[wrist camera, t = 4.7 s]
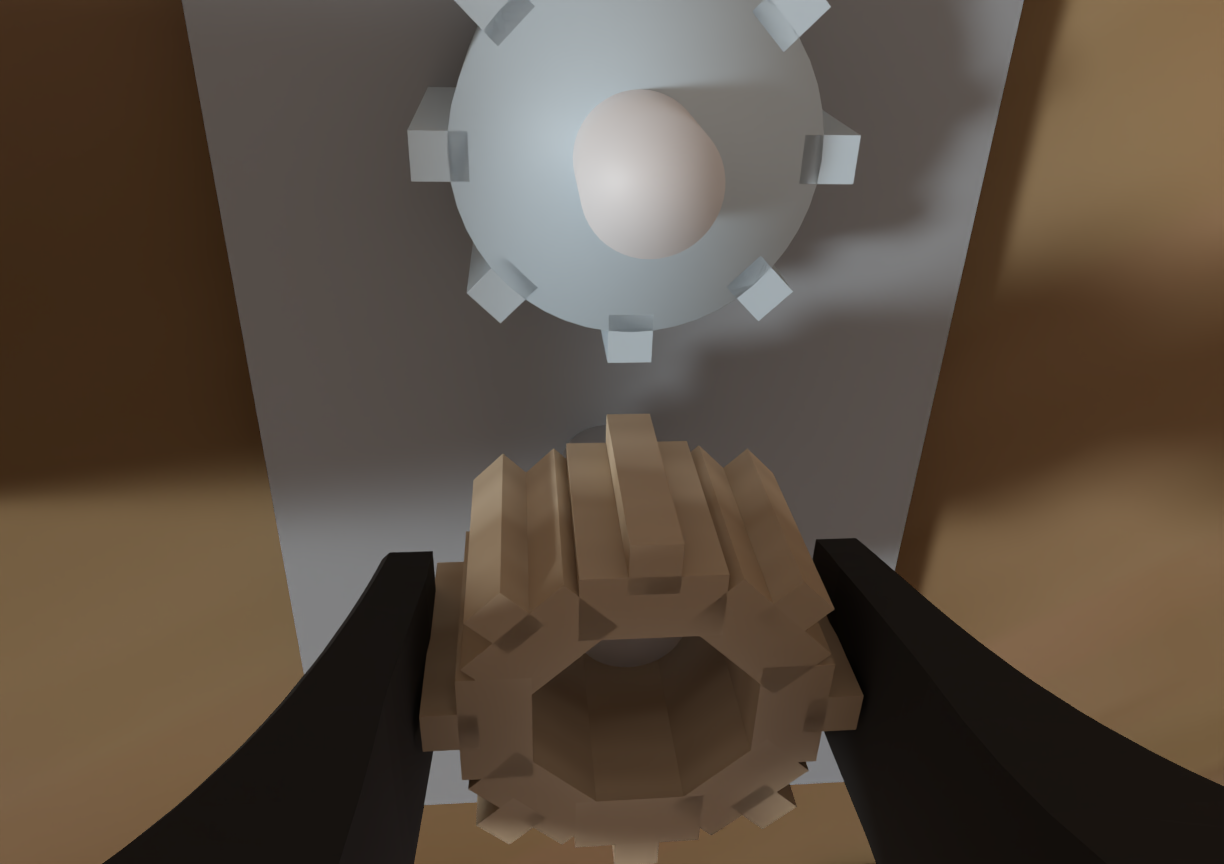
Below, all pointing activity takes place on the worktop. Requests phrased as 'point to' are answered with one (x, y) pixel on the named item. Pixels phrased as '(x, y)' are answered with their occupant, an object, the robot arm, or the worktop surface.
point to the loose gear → (632, 609)
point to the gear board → (531, 378)
